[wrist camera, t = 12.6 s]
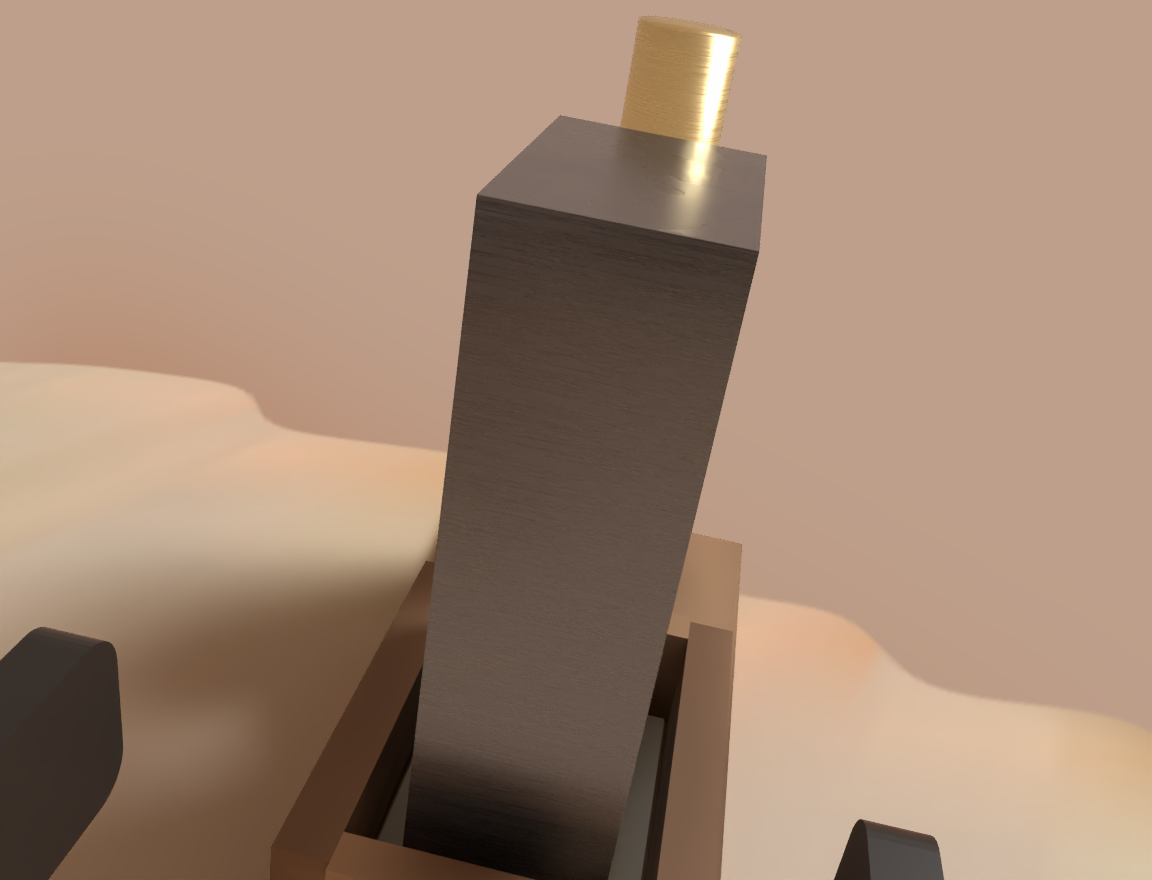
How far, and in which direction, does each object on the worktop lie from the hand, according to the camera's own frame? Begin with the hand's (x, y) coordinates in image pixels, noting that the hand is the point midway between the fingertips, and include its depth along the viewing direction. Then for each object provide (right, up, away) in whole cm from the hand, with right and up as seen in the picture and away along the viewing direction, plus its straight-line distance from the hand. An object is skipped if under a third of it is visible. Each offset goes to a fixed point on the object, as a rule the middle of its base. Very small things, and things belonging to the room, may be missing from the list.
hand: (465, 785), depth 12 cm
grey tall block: (0, -6, +16) cm, 16 cm away
